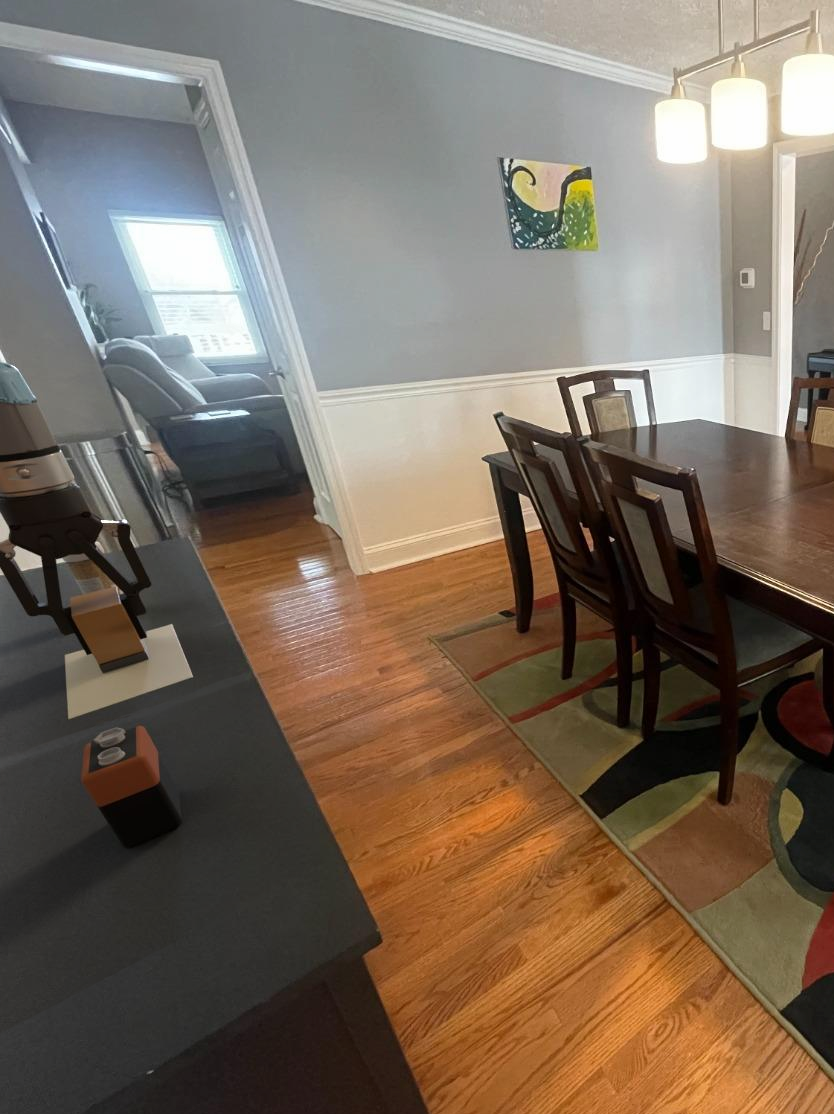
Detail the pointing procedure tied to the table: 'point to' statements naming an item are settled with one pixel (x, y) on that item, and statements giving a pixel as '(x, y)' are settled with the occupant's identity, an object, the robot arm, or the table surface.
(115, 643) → the eraser
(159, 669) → the board
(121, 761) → the battery
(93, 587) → the sprinkles bottle
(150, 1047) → the table surface
